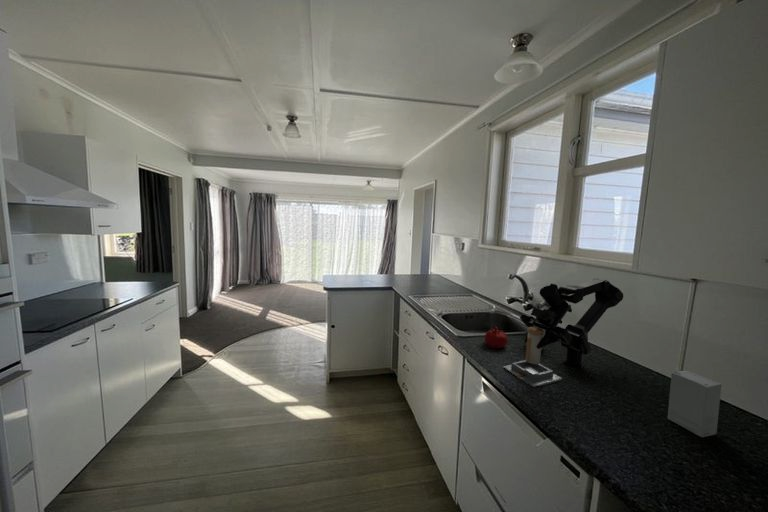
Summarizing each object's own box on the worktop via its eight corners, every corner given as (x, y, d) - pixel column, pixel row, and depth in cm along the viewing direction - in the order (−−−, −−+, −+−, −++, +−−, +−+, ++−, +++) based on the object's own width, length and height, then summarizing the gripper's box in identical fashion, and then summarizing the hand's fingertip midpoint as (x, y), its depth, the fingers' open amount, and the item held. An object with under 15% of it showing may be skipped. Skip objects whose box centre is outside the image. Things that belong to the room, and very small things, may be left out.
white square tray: (529, 362, 117) (530, 355, 117) (561, 380, 104) (562, 373, 104) (503, 368, 112) (503, 361, 111) (533, 387, 99) (534, 380, 99)
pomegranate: (510, 351, 127) (512, 331, 126) (488, 350, 127) (490, 330, 126) (501, 341, 137) (503, 323, 136) (481, 340, 137) (482, 322, 136)
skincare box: (716, 435, 78) (725, 385, 76) (700, 438, 77) (709, 387, 75) (679, 414, 86) (686, 368, 84) (664, 417, 85) (671, 371, 83)
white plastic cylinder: (531, 356, 111) (534, 326, 109) (544, 363, 106) (547, 331, 104) (520, 359, 109) (523, 327, 107) (532, 366, 104) (535, 333, 102)
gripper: (524, 294, 114) (501, 323, 112) (569, 307, 97) (543, 343, 95) (537, 310, 118) (515, 339, 116) (583, 326, 101) (558, 361, 98)
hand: (531, 345), depth 106 cm, fingers closed on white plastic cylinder, 5 cm apart
